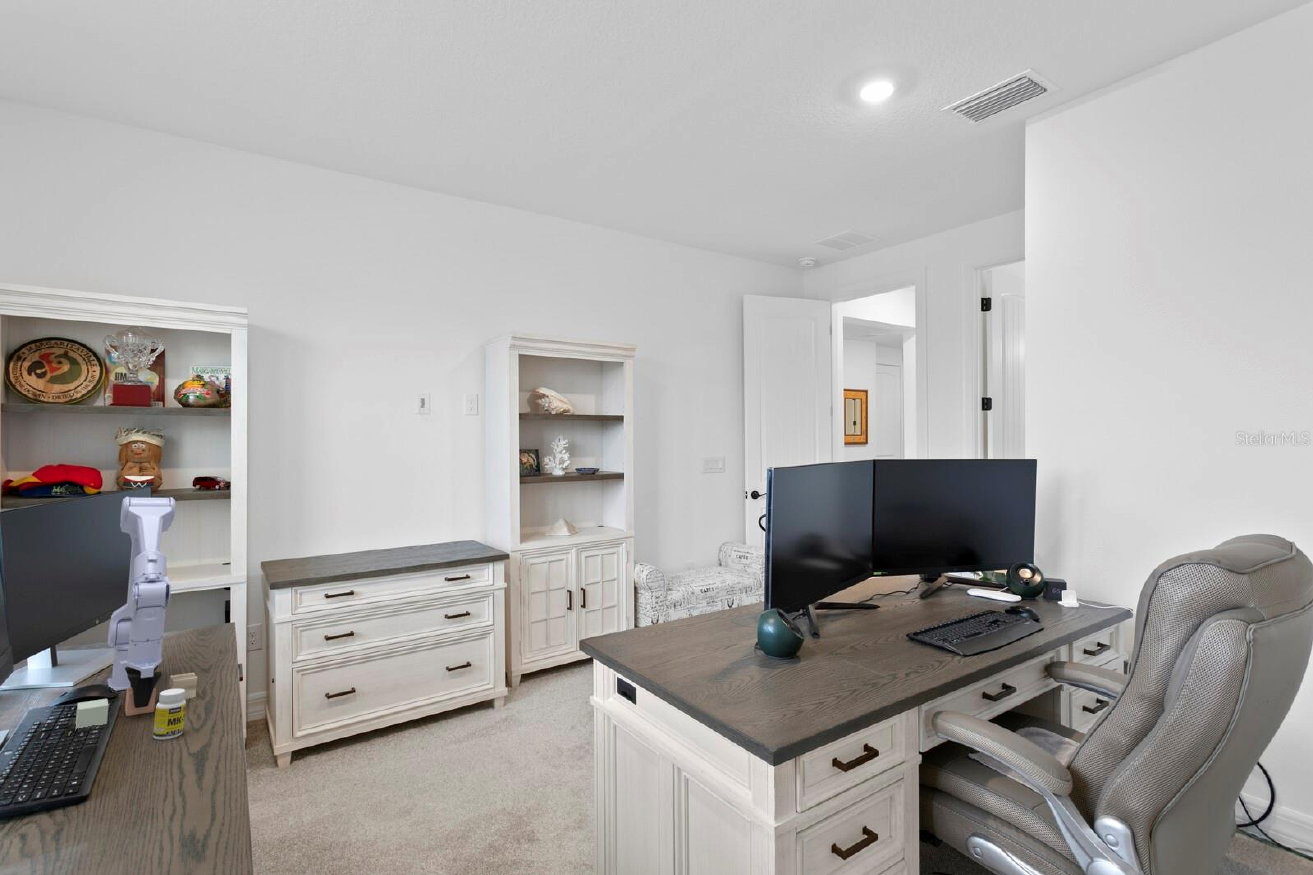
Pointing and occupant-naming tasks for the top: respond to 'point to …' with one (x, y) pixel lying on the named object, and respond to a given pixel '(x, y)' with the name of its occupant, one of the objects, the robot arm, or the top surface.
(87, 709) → the sage block
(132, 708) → the terracotta block
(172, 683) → the birch block
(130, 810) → the top surface
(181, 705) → the supplement bottle
